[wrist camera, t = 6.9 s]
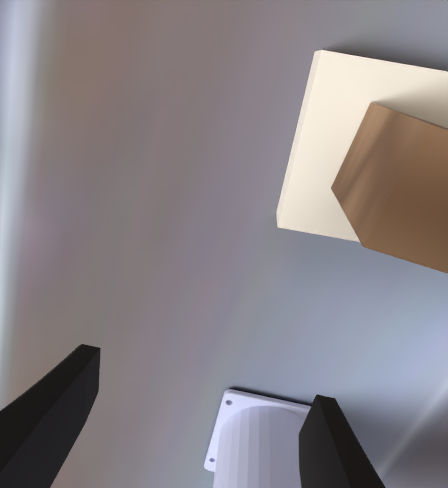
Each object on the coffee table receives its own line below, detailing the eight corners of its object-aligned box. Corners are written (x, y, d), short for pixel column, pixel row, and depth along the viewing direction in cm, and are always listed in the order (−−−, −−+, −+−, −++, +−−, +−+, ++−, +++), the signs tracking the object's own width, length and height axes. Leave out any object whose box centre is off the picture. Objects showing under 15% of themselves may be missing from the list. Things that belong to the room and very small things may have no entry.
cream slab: (415, 234, 20) (434, 255, 18) (276, 209, 20) (277, 227, 18) (483, 81, 17) (517, 83, 14) (313, 52, 17) (321, 50, 14)
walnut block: (408, 213, 17) (475, 281, 12) (330, 188, 17) (362, 246, 12) (457, 131, 15) (562, 169, 10) (370, 102, 15) (430, 124, 10)
